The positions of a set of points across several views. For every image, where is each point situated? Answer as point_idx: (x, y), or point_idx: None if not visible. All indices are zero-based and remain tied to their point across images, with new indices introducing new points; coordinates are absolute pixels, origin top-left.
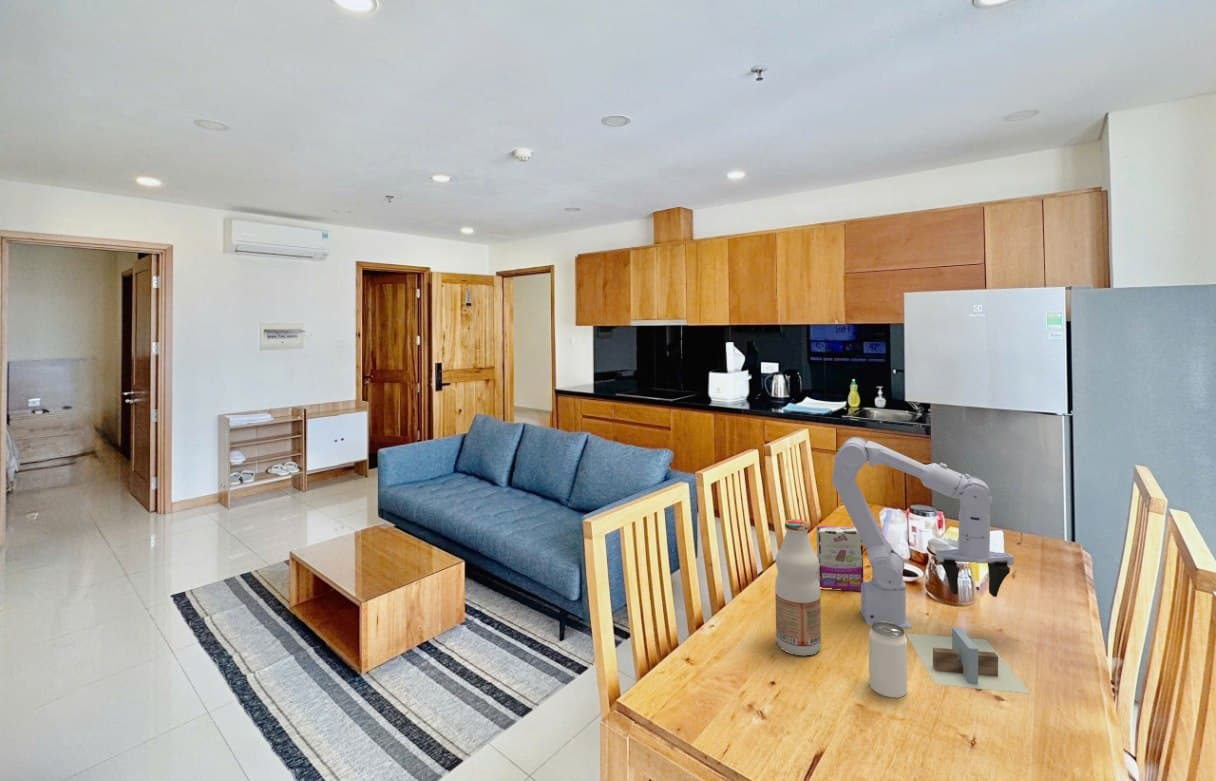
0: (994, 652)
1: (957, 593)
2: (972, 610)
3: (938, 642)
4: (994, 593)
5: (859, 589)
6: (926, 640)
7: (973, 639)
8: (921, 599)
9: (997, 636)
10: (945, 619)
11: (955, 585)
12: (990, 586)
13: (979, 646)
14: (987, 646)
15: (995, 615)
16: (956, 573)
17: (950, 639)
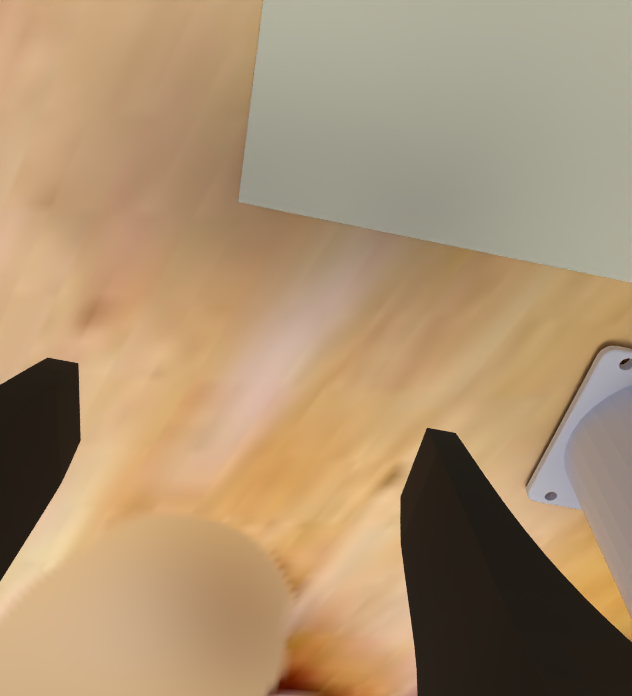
0: (275, 29)
1: (431, 433)
2: (141, 489)
3: (569, 180)
4: (51, 378)
5: None
6: (627, 209)
7: (315, 206)
8: (331, 583)
9: (141, 248)
10: (330, 426)
11: (484, 499)
12: (42, 479)
13: (329, 119)
14: (277, 115)
15: None
16: (557, 656)
17: (461, 214)
